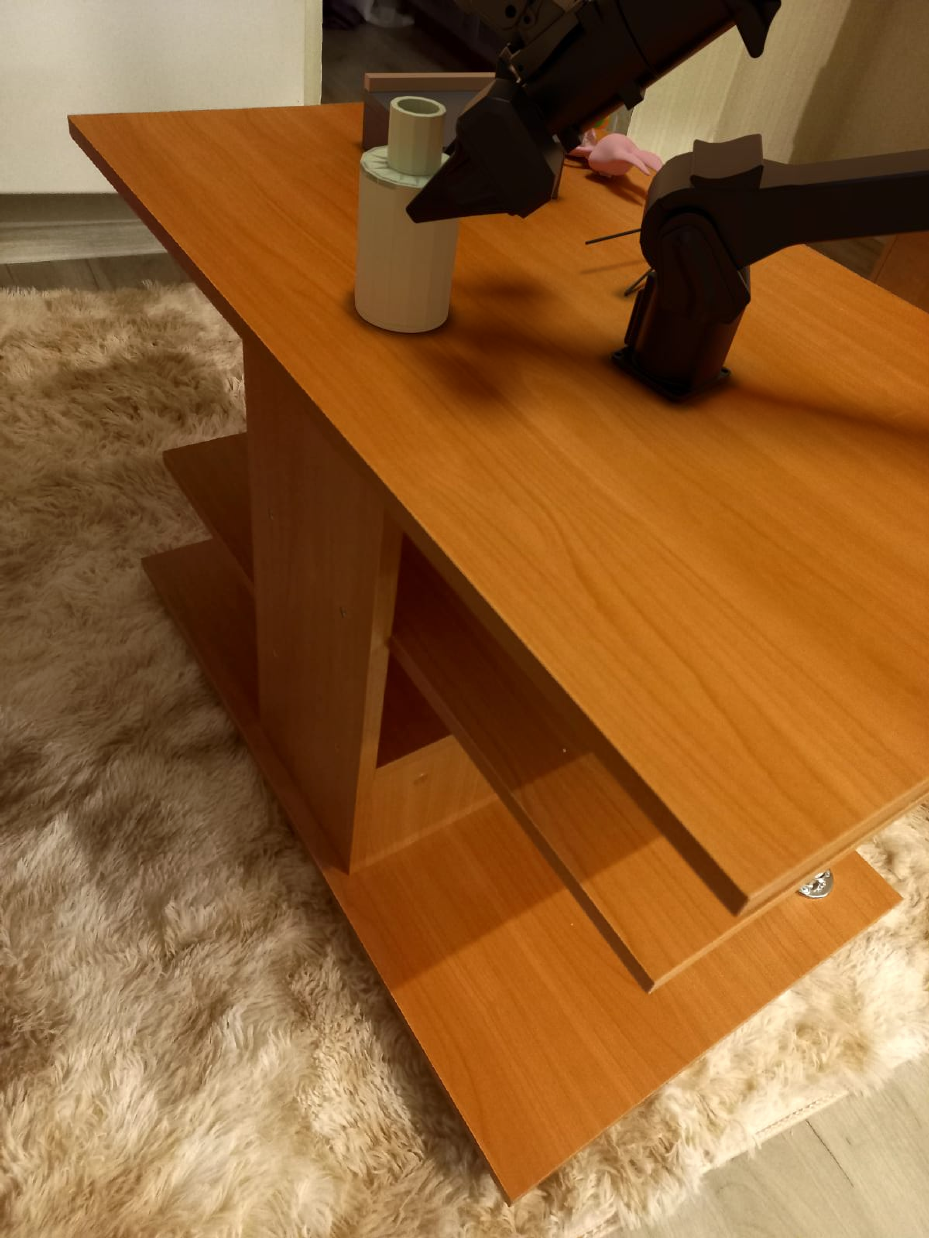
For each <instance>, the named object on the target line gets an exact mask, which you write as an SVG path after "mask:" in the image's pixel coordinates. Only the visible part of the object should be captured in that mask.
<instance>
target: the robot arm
mask: <svg viewBox="0 0 929 1238" xmlns="http://www.w3.org/2000/svg"><path fill="white" fill-rule="evenodd" d="M453 2H455V4H456V5H457V6H458V7H459V8H460V9H461V10H463V12H464V13H466V14H467V15H475V16H476V17H477V18H478V19H479V20H481V21H482V22H483V23H484V24H486V26H488V27H489V28H490V29H491V30H492V31H494V32H495V33H496V34H497V35H498V36H499V37H501V38H502V39H503V40H505V42H507V44H506V46H505V47H504V48H503V50H502V51H501V52H500V53H499V55H498V57H497V60H496V66H495V72H494V73H495V78H494V81H493V82H491V83H490V84H489V85H488V86H486V87H485V88H484V89H483V90H481V91H480V92H479V93H478V94H477V95H476V96H475V97H474V98H473V99H472V100H471V101H470V102H469V103H468V104H466V105H465V107H464V108H463V110H462V111H461V113H460V114H459V116H458V117H457V119H456V123H455V132H456V137H455V138H454V139H453V141H452V142H451V143H450V144H449V145H448V147H447V148H446V149H445V150H444V151H443V153H444V154H447V155H448V156H450V157H449V158H448V159H447V160H446V162H445V163H444V164H443V165H442V166H441V167H440V168H439V170H438V171H437V172H436V173H435V174H434V175H433V176H432V178H431V179H430V180H429V181H428V182H427V183H426V184H425V185H424V187H423V188H422V189H421V190H420V191H419V192H418V194H417V195H416V196H415V197H414V198H413V199H412V200H411V202H410V203H409V204H408V205H407V207H406V212H407V214H408V215H409V217H410V218H411V220H412V221H413V222H414V223H424V222H432V221H439V220H446V219H453V218H460V219H461V218H467V217H468V218H469V217H477V216H490V215H502V214H508V216H510V217H515V216H518V217H520V218H521V219H522V220H524V219H525V218H527V217H529V216H530V215H531V214H533V213H534V212H535V211H537V210H539V209H540V208H542V207H543V206H545V205H546V204H548V203H549V202H550V201H551V200H552V199H553V198H552V195H553V192H554V189H555V187H556V184H557V181H558V178H559V173H560V168H561V163H562V158H563V154H562V153H561V151H560V149H559V148H558V146H557V144H556V143H555V141H554V139H553V138H552V137H553V136H554V135H556V136H557V137H558V139H559V141H560V142H561V144H562V146H563V147H564V149H565V151H566V152H567V154H568V153H570V152H571V151H573V150H574V149H575V148H577V147H578V146H580V145H581V144H582V142H583V139H584V136H585V134H584V133H586V132H587V131H588V130H590V129H591V128H592V129H594V128H593V127H594V126H595V125H597V124H598V123H600V122H601V121H602V120H604V119H605V118H607V117H608V116H609V115H611V116H612V114H614V113H615V112H617V111H618V110H619V109H620V108H622V107H623V106H625V108H626V110H627V112H629V111H631V110H632V109H633V108H635V107H636V106H638V105H639V104H641V103H642V102H643V101H644V100H645V96H646V92H647V89H648V88H650V87H651V86H653V85H654V84H655V83H657V82H659V81H660V80H661V79H662V78H664V77H665V76H667V75H669V74H670V73H671V72H672V71H674V70H676V68H678V67H679V66H681V65H682V64H683V63H685V62H687V61H688V60H689V59H691V58H692V57H693V56H694V55H697V53H699V52H700V51H702V50H703V49H704V48H706V47H707V46H709V45H710V44H711V43H713V42H714V41H716V40H717V39H719V38H720V37H721V36H723V35H724V34H726V33H727V32H729V31H730V30H731V29H733V28H734V27H736V30H737V31H738V33H739V36H740V37H741V40H742V42H743V44H744V46H745V49H746V50H747V53H748V55H749V57H750V58H752V59H758V58H760V57H761V56H762V55H763V53H764V51H765V46H766V42H767V38H768V34H769V31H770V28H771V25H772V23H773V21H774V19H775V17H776V16H777V13H778V11H779V10H780V9H781V7H782V4H783V2H782V0H453ZM692 143H693V144H692V151H688V152H683V153H681V154H677V155H675V156H673V157H671V158H670V159H668V160H666V161H665V163H664V164H662V165H663V166H662V167H661V169H660V170H659V171H658V172H657V173H656V172H655V174H654V176H652V180H651V182H650V184H649V186H648V188H647V192H646V197H645V202H644V207H643V214H642V218H641V223H640V228H641V230H640V232H639V241H640V243H639V245H640V250H641V254H642V256H643V258H644V259H645V261H646V263H647V264H648V266H649V267H650V268H652V269H654V270H653V271H652V272H650V273H648V276H646V278H645V283H644V286H643V288H641V289H638V291H637V293H636V296H635V299H634V303H633V307H632V309H631V313H630V316H629V319H628V324H627V326H626V331H625V334H624V337H623V344H624V345H626V346H623V347H621V348H618V349H616V350H614V351H612V352H611V355H610V358H609V360H611V362H613V363H614V364H616V365H617V366H618V367H620V368H622V369H623V370H625V371H627V373H629V374H631V375H633V377H635V378H637V379H638V380H640V381H641V382H643V383H644V384H646V385H647V386H649V387H650V388H652V389H654V390H655V391H657V392H658V393H659V394H660V395H662V396H664V397H665V398H666V399H668V400H670V401H672V402H675V403H680V402H682V401H684V400H686V399H689V398H691V397H693V396H696V395H697V394H700V393H702V392H704V391H706V390H708V389H711V388H712V387H715V386H717V385H719V384H722V383H723V382H725V381H728V380H730V378H731V375H732V370H730V369H729V368H728V367H726V366H724V364H725V362H726V359H727V358H728V354H729V353H730V348H731V346H732V344H733V341H734V339H735V336H736V334H737V331H738V329H739V326H740V324H741V321H742V319H743V316H744V314H745V311H746V308H747V307H748V305H749V304H750V302H751V300H752V293H751V292H752V289H751V288H752V287H751V283H752V282H751V266H752V265H754V264H756V263H759V262H761V261H763V260H764V259H766V258H768V257H770V256H772V255H775V254H776V253H778V252H781V251H782V250H785V249H787V248H790V247H794V246H800V245H809V244H818V243H819V244H821V243H830V242H831V243H832V242H840V241H841V242H842V241H850V240H861V239H871V238H872V239H873V238H881V237H890V236H902V235H911V234H921V233H929V148H924V149H915V150H907V151H898V152H890V153H883V154H873V155H867V156H858V157H850V158H842V159H841V158H840V159H834V160H826V161H819V162H809V163H803V164H802V163H801V164H792V163H791V164H790V163H786V162H785V163H784V162H780V161H775V160H772V159H768V158H764V150H763V149H764V148H763V135H762V134H761V133H752V134H747V135H742V136H741V137H737V138H733V139H731V140H727V141H726V140H725V141H723V142H708V141H705V140H702V139H697V138H696V139H694V140H693V142H692ZM551 198H552V199H551ZM639 241H638V242H639Z"/></svg>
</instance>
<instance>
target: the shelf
mask: <svg viewBox="0 0 929 1238" xmlns="http://www.w3.org/2000/svg"><path fill="white" fill-rule="evenodd" d="M494 78H495V72H365V73H364V84H363V85H364V90H363V109H362V111H363V114H362V137H361V146H362V148H364V149H365V150H366V152H367V151H369V150H371V149H372V148H375V147H381V146H387V145H388V135H389V119H390V102H391V101H392V100H394V99H395V98H397V97H405V96H412V97H422V98H426V99H430V100H434V101H436V102H438V103H440V104H442V105H443V106H444V107H445V109H446V121H445V130H444V140H443V149H442V153H443V151H444V150H445V149H446V148H447V147H448V145H449V144H450V143H451V142H452V141H453V139H454V138H455V137H456V132H455V123H456V119H457V117H458V116H459V114H460V113H461V111H462V110H463V108H464V107H465V105H466V104H468V103H469V102H470V101H471V100H472V99H473V98H474V97H475V96H476V95H477V94H478V93H479V92H480V91H481V90H483V89H484V88H485V87H486V86H488V85H489V84H490V83H491V82H493V81H494ZM552 138H553V139H554V141H555V143H556V144H557V146H558V148H559V149H560V151H561V153H562V154H563V158H562V163H561V168H560V173H559V178H558V181H557V184H556V187H555V189H554V192H553V195H552V198H551V200H552V199H557V198H558V195H559V189H560V184H561V180H562V174H563V169H564V165H565V161H566V156H567V155H566V151H565V149H564V147H563V146H562V144H561V142H560V141H559V139H558V137H557V136H556V135H554V136H553V137H552Z"/></svg>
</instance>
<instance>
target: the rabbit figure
mask: <svg viewBox="0 0 929 1238" xmlns="http://www.w3.org/2000/svg"><path fill="white" fill-rule="evenodd" d="M611 120H612V114H611V115H609V116H608V117H607V118H605V119H604V120H602V121H601V122H600V123H598V124H597V125H595V126H594V127H593V128H591V129H590V130H588V131H587V132H586V133H584V134H585V136H584V139H583V142H582V144H581V145H580V146H578V147H577V148H575V149H574V150H573V151H571V152H570V153H568V154H567V152H566V155H565V156H571V157H572V156H573V157H576V158H583V157H584V158H585V160H587V162H588V165H589V167H590V168H591V169H592V170H593V171H595V172H597V173H598V174H599V176H601V177H604V176H605V177H606V178H608V179H609V178H612V176H622V175H623V176H624V175H625V174H627V173H629V172H630V171H631V170H632V168H633V167H635V168H637V169H638V170H639V171H640V172H641V173H642V174H644V175H646V176H647V177H650V176H651V175H652V174H651V172H650V170H651V171H654V172H655V174H656V173H657V172H658V171H659V170H660V169H661V167H662V166H663V165H664V164H663V162H662V159H661V158H660V156H659V155H658V154H656V153H655V152H652V151H649V150H645V149H640V148H638V146H637V144H636V143H635V142H634V141H633V140H632V139H631V138H630V137H628V136H626V135H625V134H622V133H610V134H607V135H605V136H604V137H602V138H601V139H600V140H599V141H598V142H597V133H596V131H595V130H598V131H599V130H604V129H606V128H607V127H608V126H609V125H610V122H611ZM648 168H649V169H650V170H649V169H648Z"/></svg>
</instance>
